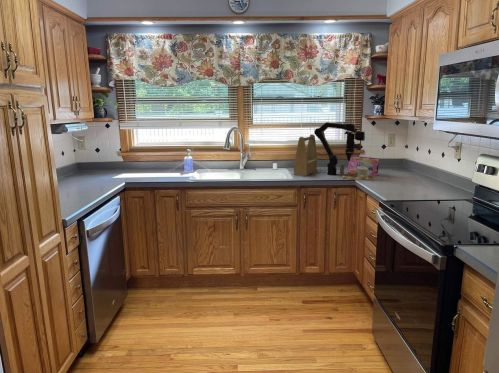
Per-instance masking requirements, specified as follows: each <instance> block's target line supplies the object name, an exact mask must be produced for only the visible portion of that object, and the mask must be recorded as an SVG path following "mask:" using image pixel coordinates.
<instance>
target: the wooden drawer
mask: <svg viewBox="0 0 499 373" xmlns="http://www.w3.org/2000/svg"><path fill="white" fill-rule="evenodd" d="M342 175H348V176H354V177H358V173H356V174H350V172H348V171H347V173H345V164H344V163H340V164H339V176H342Z"/></svg>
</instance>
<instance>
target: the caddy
mask: <svg viewBox="0 0 499 373" xmlns="http://www.w3.org/2000/svg"><path fill="white" fill-rule="evenodd" d="M306 141H308V143H307V146H306ZM316 143H317V142H316V135H315V134H314V133H313V134H310V135H309V136H306V137H304V136H299V137H298V141H297V146H296V152H295V155H294V157H295V158H294V163H293V175H294V176H301V177H306V176H309V175H310V174H313V173H315V172H316V171H317V168H318V152H317V145H316Z"/></svg>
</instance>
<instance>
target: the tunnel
mask: <svg viewBox="0 0 499 373" xmlns="http://www.w3.org/2000/svg"><path fill="white" fill-rule="evenodd" d="M357 173H358V178H359V175H366V178H368V168H367V167H362V166H357Z"/></svg>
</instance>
